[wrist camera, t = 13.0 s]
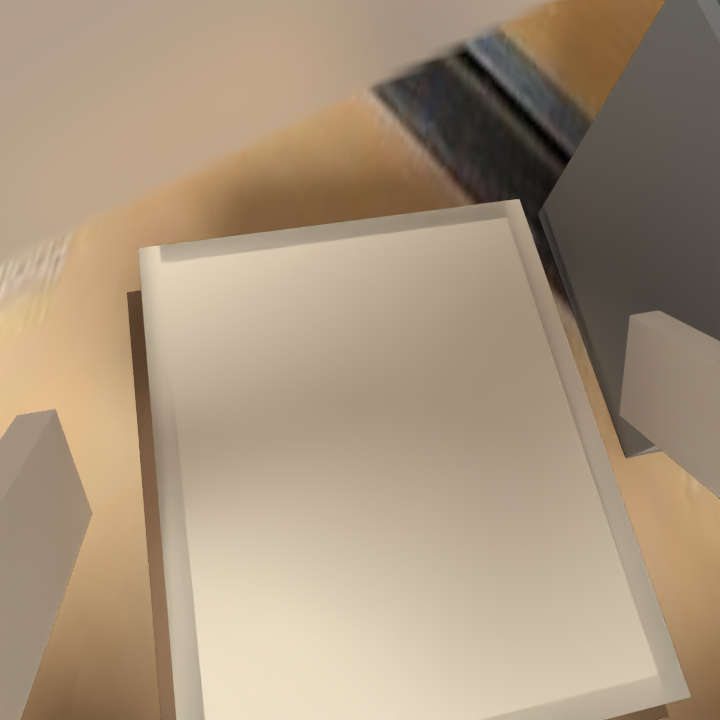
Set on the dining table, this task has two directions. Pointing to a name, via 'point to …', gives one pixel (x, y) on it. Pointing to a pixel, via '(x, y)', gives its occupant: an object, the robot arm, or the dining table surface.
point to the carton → (645, 199)
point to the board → (649, 716)
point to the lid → (388, 482)
